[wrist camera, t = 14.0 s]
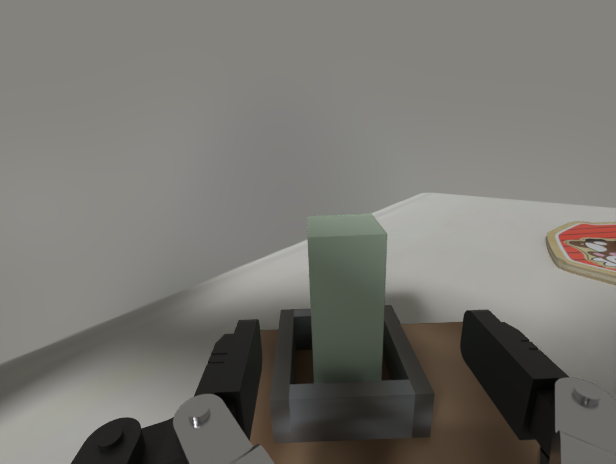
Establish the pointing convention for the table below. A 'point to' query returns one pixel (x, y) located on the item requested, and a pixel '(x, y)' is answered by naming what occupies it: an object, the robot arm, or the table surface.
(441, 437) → the tool stand
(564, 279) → the table surface
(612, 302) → the table surface
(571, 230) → the knob puzzle
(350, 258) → the peg block
